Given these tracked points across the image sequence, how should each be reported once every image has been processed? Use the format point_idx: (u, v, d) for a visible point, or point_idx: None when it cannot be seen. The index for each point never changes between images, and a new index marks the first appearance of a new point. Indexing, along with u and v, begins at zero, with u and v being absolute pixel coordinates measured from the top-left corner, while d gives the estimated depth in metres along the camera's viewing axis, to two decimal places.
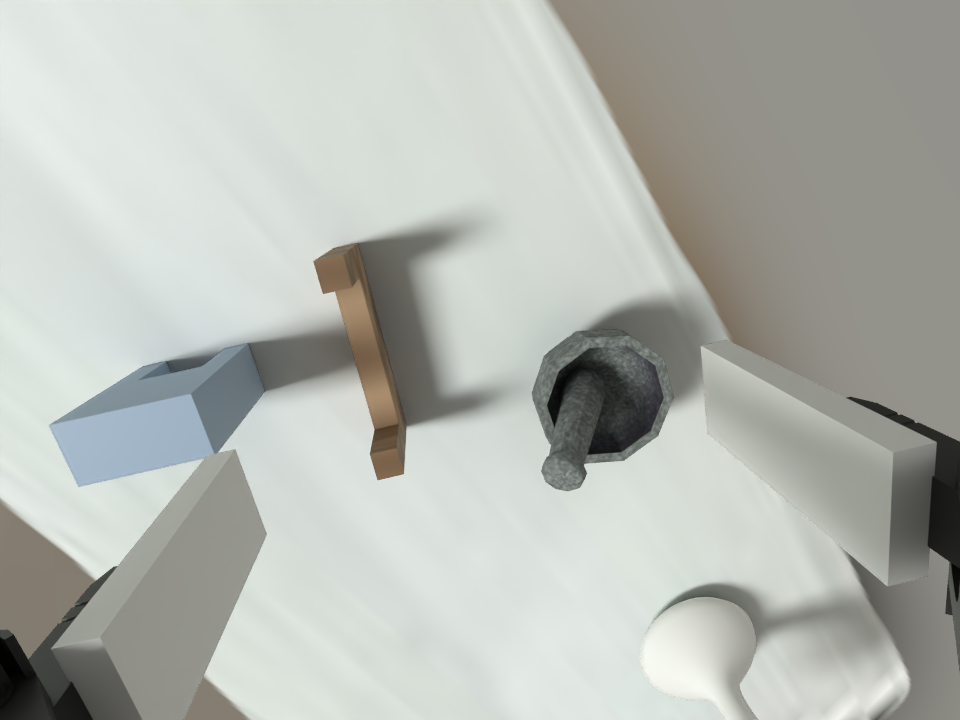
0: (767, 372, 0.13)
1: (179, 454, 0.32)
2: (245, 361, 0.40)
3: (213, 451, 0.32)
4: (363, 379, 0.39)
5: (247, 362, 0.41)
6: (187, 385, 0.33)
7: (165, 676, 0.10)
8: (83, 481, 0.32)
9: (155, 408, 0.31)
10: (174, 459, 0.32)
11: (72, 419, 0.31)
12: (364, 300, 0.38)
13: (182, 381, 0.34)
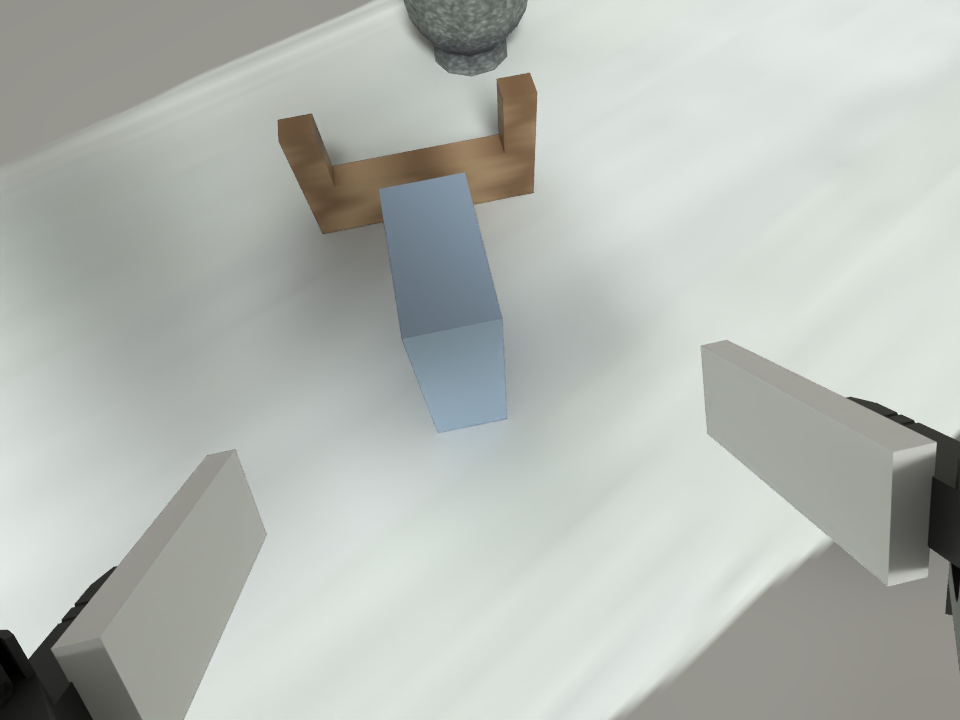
0: (767, 372, 0.13)
1: (460, 205, 0.24)
2: None
3: None
4: (443, 163, 0.35)
5: None
6: None
7: (165, 676, 0.10)
8: (493, 311, 0.22)
9: (393, 223, 0.24)
10: (466, 211, 0.24)
11: None
12: (356, 162, 0.36)
13: None
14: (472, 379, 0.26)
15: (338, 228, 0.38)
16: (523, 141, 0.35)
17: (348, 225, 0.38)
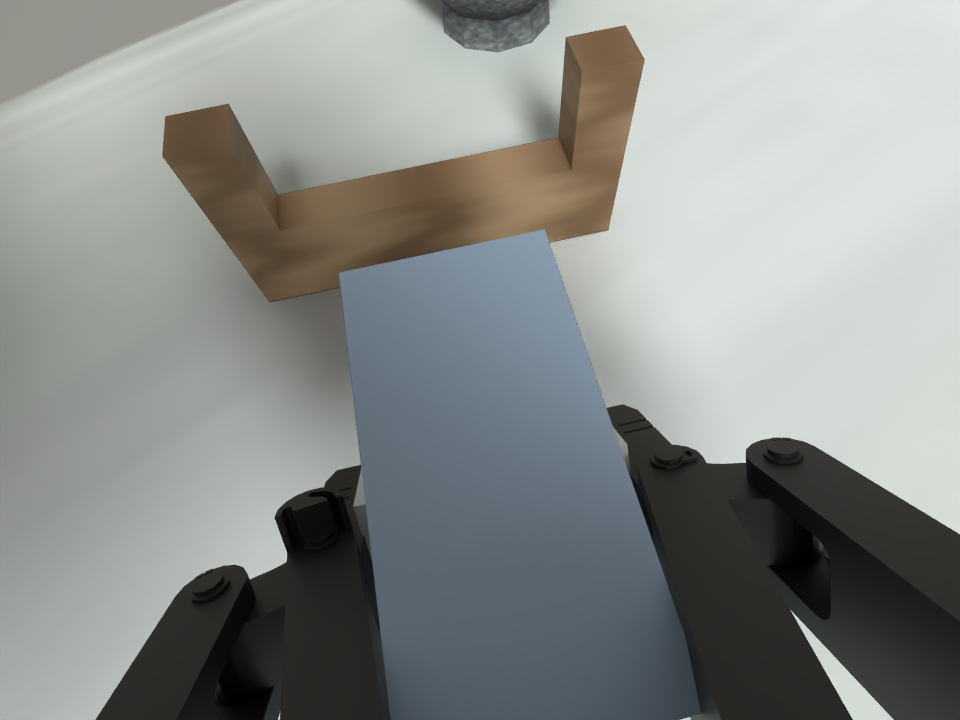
0: None
1: (541, 317, 0.10)
2: None
3: (532, 232, 0.11)
4: (467, 187, 0.21)
5: None
6: None
7: None
8: (679, 680, 0.07)
9: (373, 367, 0.09)
10: (560, 332, 0.10)
11: (388, 675, 0.07)
12: (319, 188, 0.21)
13: None
14: None
15: (294, 293, 0.24)
16: (605, 149, 0.20)
17: (310, 288, 0.23)
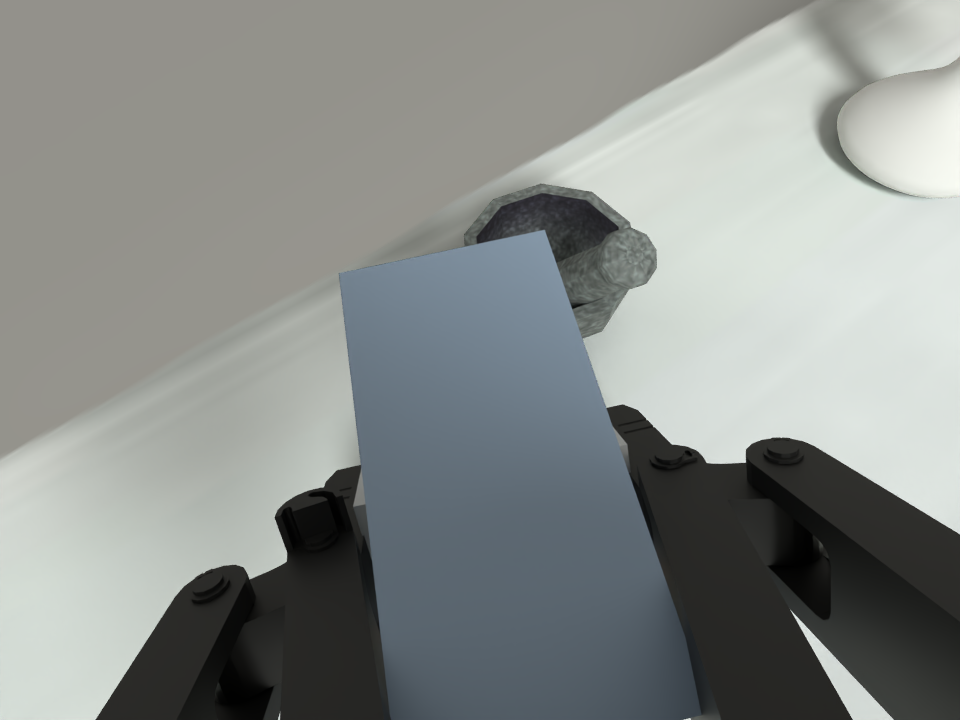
0: None
1: (541, 318, 0.10)
2: None
3: (531, 233, 0.11)
4: None
5: None
6: None
7: None
8: (679, 682, 0.07)
9: (372, 368, 0.09)
10: (560, 333, 0.10)
11: None
12: None
13: None
14: None
15: None
16: None
17: None
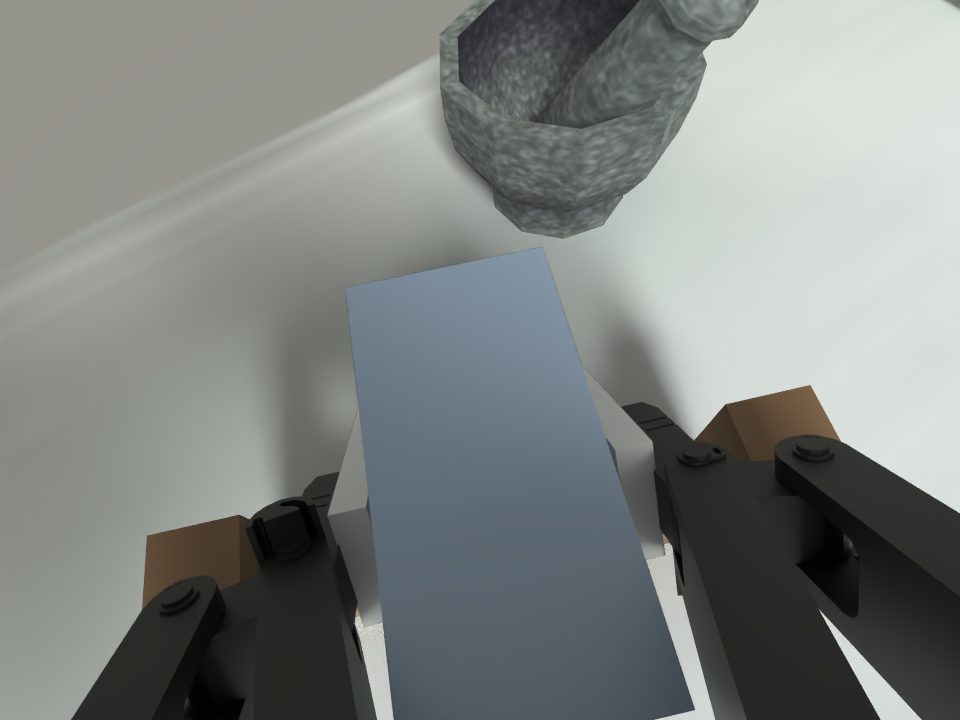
0: None
1: (538, 332, 0.10)
2: None
3: (530, 250, 0.11)
4: None
5: None
6: None
7: None
8: (665, 680, 0.08)
9: (377, 380, 0.10)
10: (556, 347, 0.10)
11: (391, 674, 0.08)
12: None
13: None
14: None
15: None
16: None
17: None
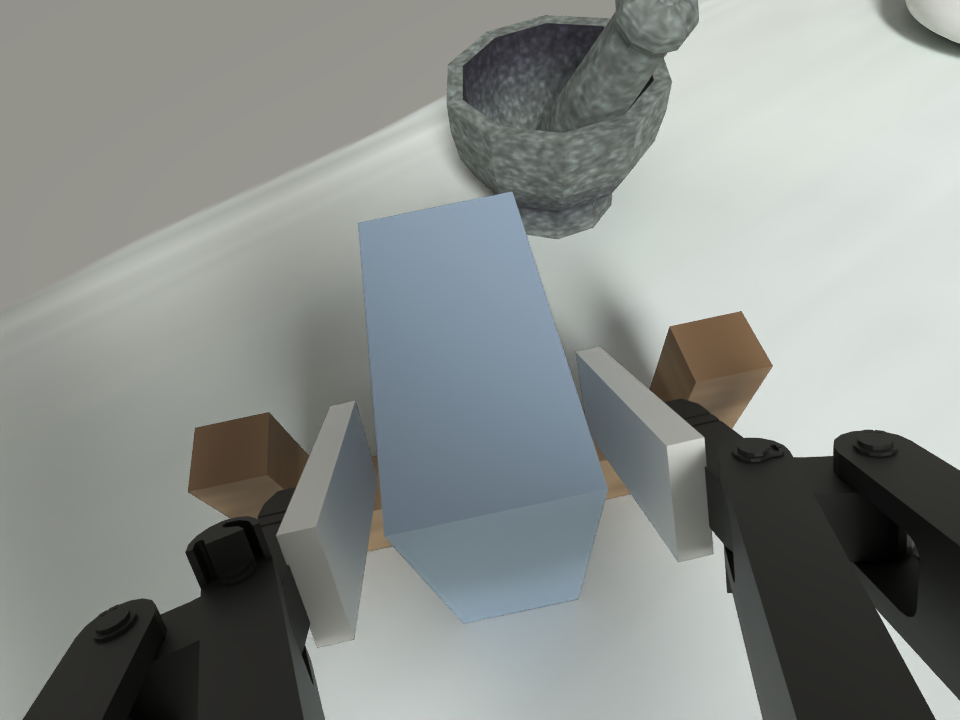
0: (613, 376, 0.14)
1: (505, 248, 0.13)
2: None
3: (502, 194, 0.14)
4: None
5: None
6: None
7: (346, 572, 0.12)
8: (587, 471, 0.10)
9: (379, 282, 0.13)
10: (518, 258, 0.13)
11: (381, 474, 0.10)
12: None
13: None
14: (528, 569, 0.14)
15: None
16: None
17: None
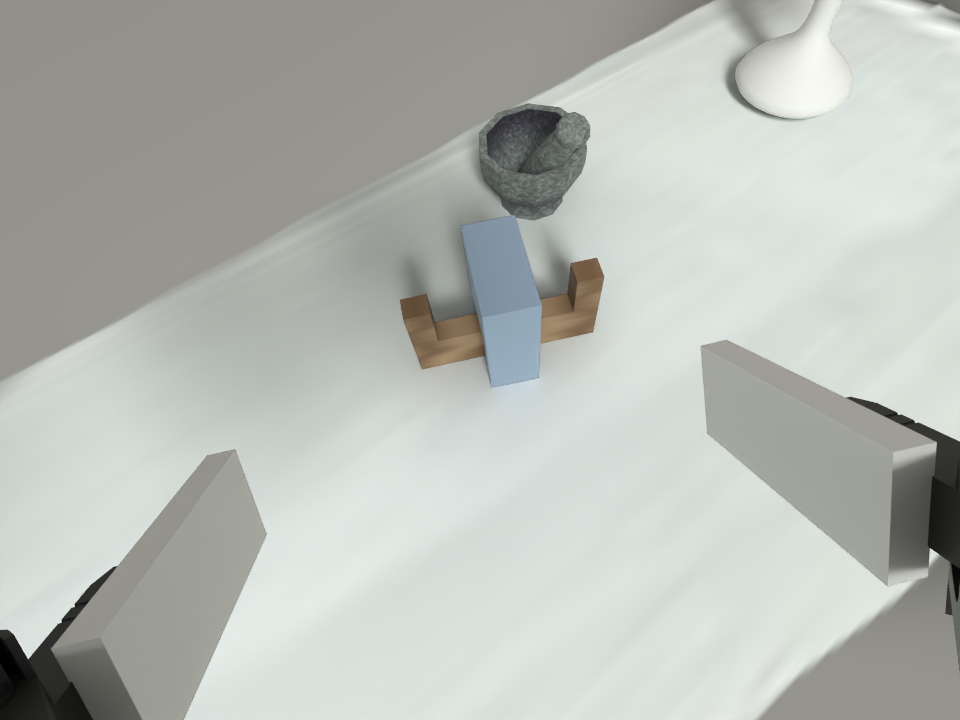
0: (767, 372, 0.13)
1: (512, 236, 0.39)
2: None
3: (511, 215, 0.40)
4: None
5: None
6: None
7: (165, 676, 0.10)
8: (536, 301, 0.36)
9: (471, 247, 0.39)
10: (517, 239, 0.39)
11: (478, 303, 0.37)
12: (453, 319, 0.45)
13: (469, 274, 0.42)
14: (519, 346, 0.41)
15: (434, 365, 0.47)
16: (589, 304, 0.43)
17: (443, 362, 0.47)
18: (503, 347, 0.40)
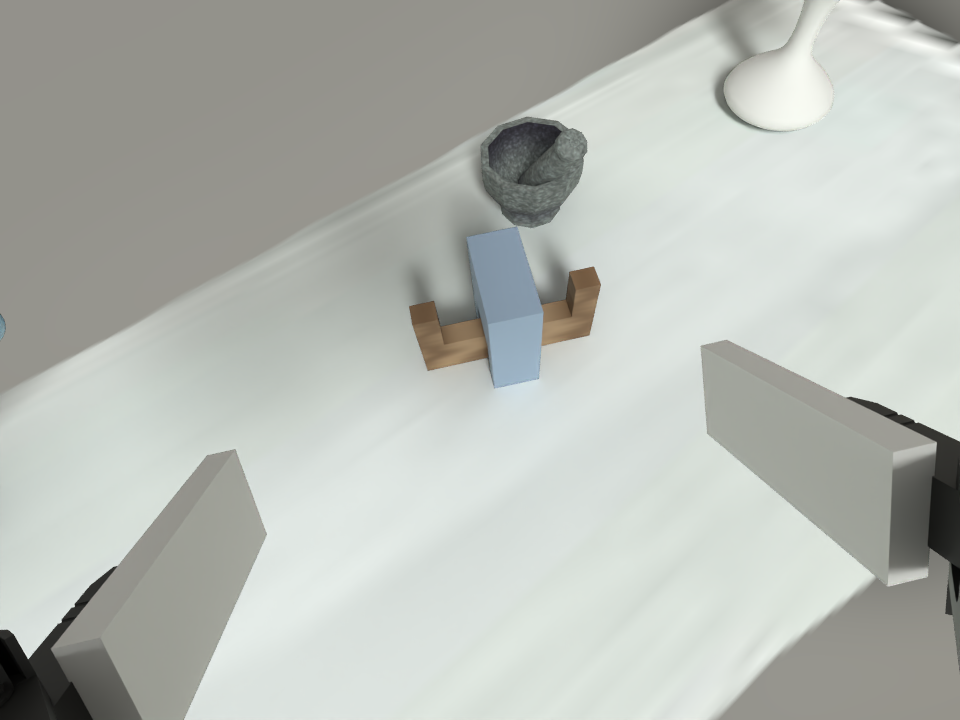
0: (767, 372, 0.13)
1: (515, 247, 0.42)
2: None
3: (513, 227, 0.43)
4: None
5: None
6: (471, 264, 0.44)
7: (165, 676, 0.10)
8: (538, 308, 0.39)
9: (476, 257, 0.41)
10: (519, 250, 0.42)
11: (484, 311, 0.39)
12: (458, 323, 0.47)
13: (474, 282, 0.45)
14: (521, 349, 0.43)
15: (440, 366, 0.50)
16: (586, 309, 0.46)
17: (448, 364, 0.50)
18: (506, 351, 0.43)
